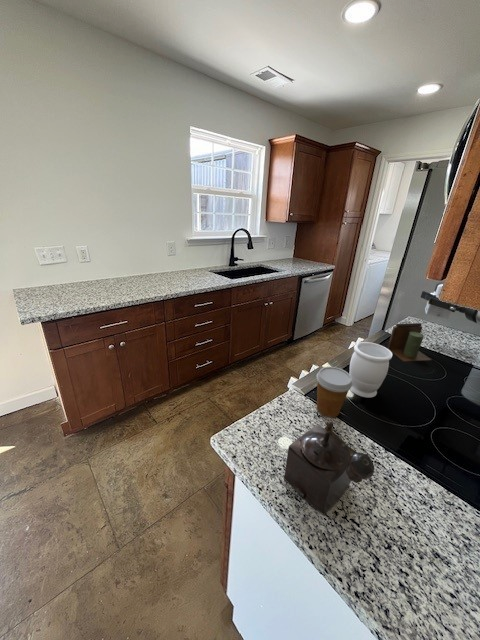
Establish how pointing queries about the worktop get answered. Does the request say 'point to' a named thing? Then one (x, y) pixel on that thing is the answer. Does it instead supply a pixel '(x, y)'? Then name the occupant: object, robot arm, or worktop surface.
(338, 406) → the disposable coffee cup
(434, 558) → the worktop surface
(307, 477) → the brown coffee grinder
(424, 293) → the robot arm
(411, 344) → the spice tin
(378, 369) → the jar
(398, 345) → the spice rack
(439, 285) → the container
